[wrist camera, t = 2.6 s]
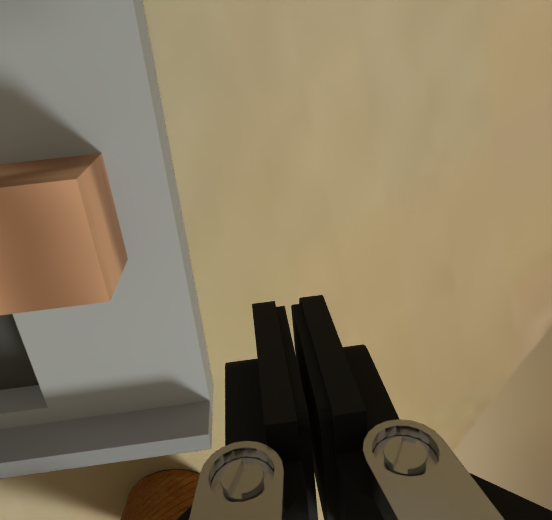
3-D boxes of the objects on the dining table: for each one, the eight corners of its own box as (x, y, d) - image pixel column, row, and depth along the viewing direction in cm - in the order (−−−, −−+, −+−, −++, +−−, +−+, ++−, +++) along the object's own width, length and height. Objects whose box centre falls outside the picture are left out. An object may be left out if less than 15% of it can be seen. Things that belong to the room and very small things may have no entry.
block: (101, 153, 21) (76, 178, 17) (127, 258, 23) (109, 301, 19) (-19, 166, 21) (-70, 195, 17) (19, 272, 23) (-19, 317, 19)
